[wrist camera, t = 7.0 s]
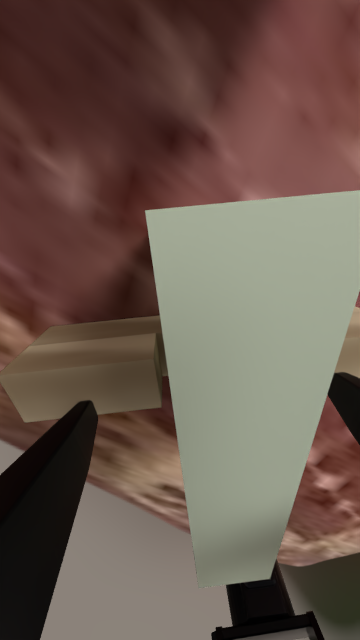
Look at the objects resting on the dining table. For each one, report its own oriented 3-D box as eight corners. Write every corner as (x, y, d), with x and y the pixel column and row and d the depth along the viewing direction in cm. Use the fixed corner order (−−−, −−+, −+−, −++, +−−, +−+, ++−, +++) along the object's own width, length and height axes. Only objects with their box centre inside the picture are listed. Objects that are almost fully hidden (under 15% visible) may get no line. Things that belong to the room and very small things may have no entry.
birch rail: (324, 336, 13) (387, 382, 9) (65, 364, 12) (24, 422, 9) (334, 297, 12) (411, 331, 8) (50, 326, 11) (-4, 375, 8)
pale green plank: (218, 402, 15) (270, 579, 7) (182, 406, 15) (198, 588, 7) (217, 214, 9) (391, 187, 2) (161, 220, 9) (144, 211, 2)
